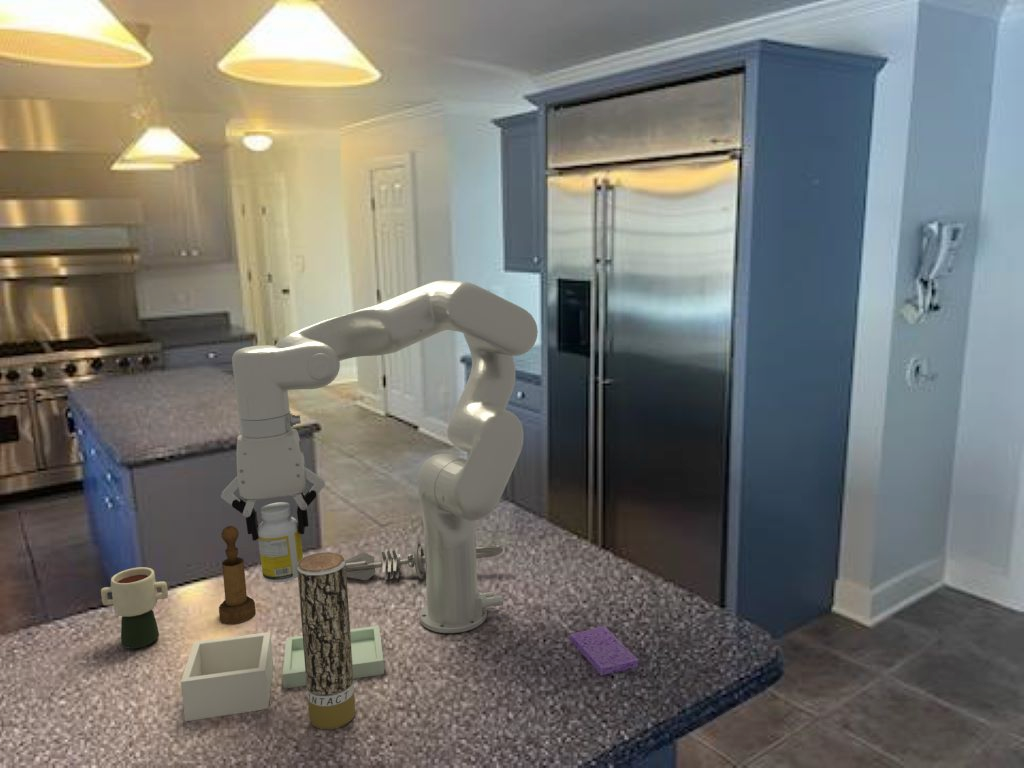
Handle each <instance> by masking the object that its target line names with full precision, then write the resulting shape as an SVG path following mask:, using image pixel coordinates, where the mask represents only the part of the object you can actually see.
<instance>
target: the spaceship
mask: <svg viewBox="0 0 1024 768" xmlns="http://www.w3.org/2000/svg"><path fill="white" fill-rule="evenodd" d="M388 550H389V551H388ZM503 552H504V549H503V548H502V547H500V546H496V545H495V546H494V545H488V546H487V545H486V546H479V547H476V558H477V559H484V558H492V557H495V556H499V555H501V554H502V553H503ZM381 557H382V558H380V559H381V560H380V561H376V562H375V557H374V556H373V555H371V554H369V553H366V552H362V553H358V554H357V555H355V556H353V557H350V558H348V559H345V562H346V576H347V578H351V579H356V580H362V581H368V580H370V578H372V577H374V575H376V569H379V568H382V571H381V572H382V573H384V580H388V577H389V579H390V580H392V579H393V578H395V579H398V578H399V575H401V574H402V570H401V568H402V566H403V565H408V567H409V568H414V567H415V572H416V575H417V577H418V579H420V580H422V579H423V578H424V574H425V572H426V562H425V550H424V548H423V546H422V544H421V542H420V541H419V540H417V541H415V545H414V547H413V554H411V553H410V554H407V558H403V559H402V558H401V554H400V553H399V547H398V546H397V547H395V549H394V547H390V548H389V549H388V548H385V549H384V551H381ZM394 576H395V577H394Z"/></svg>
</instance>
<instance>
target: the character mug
mask: <svg viewBox="0 0 1024 768" xmlns="http://www.w3.org/2000/svg"><path fill="white" fill-rule="evenodd" d="M155 574H156V573H155V570H154V569H153V568H151V567H146V566H145V567H142V566H140V567H139V566H138V567H132V568H128V569H124V570H121V571H119V572H117V573H116V574H114V575H113V576H111V578H110V586H105V587H102V588H101V589H100V595H101V603H102V605H103V606H111V605H113V610H114V612H115V614H116V615H117V616H120V617H121V625H120V626H121V627H120V628H121V629H120V632H121V633H120V644H121V645H122V646H123V647H124V648H127V649H132V650H133V649H139V648H140V649H141V648H143V647H145V646H148V645H150V644H152V643H153V642H155V641H156V640H157V639H158V638H159V636H160V632H159V627H158V624H157V620H156V616H155V612H154V609H155V607H156V606H157V603H158V600H165V599H167V598H168V597H169V591H168V590H169V589H168V584H167V582H166V581H156V575H155ZM157 588H160V589H161V593H158V591H157ZM108 593H111V595H112V599H109V598H108Z"/></svg>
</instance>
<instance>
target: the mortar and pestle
mask: <svg viewBox="0 0 1024 768" xmlns="http://www.w3.org/2000/svg"><path fill="white" fill-rule="evenodd" d="M239 534H240V533H239V529H238V528H237V527H236V526H234V525H229V526H225V527H224V528H223V530H222V531H221V538H222V540H223V541H224V542H225V544H226V549H225V550H224V551H225V556H226V559H224V560H223V561H222V562H221V568H222V576H223V586H224V587H223V588H224V600H223V602H221V604H220V605H219V607H218V613H219V620H220V621H221V622H222V623H223V624H224V623H225V624H229V625H230V624H232V625H235V624H239V623H244V622H246V621H248V620H251V619H252V618H253V617H254V616H255V615H256V603H255V600H254V599H253V598H251V597H250V596H248V594H247V584H246V573H245V560H244V559H243V558H242V557H238V554H239V548H238V547H236V542H237V540H238V538H239Z"/></svg>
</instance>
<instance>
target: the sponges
mask: <svg viewBox="0 0 1024 768" xmlns="http://www.w3.org/2000/svg"><path fill="white" fill-rule="evenodd" d="M569 640H570V641H571V642H572V644H573V645H575V647H576V648H577V649H578V650H579V652H580V653H581V654H582V655H583V656H584V658H585V659H587V661H588V662H589V663H590V664H591V666H592V667H593V668H594V669H595V670H596V672H597V673H598V674H599V675H600V676H604V675H608V674H613V673H616V672H621V671H625V670H629V669H633V668H637V667H639V664H638V663H639V659H638V658H637V657H636V656H635V655H634V654H633V653H632V652H631V651H629V650H628V647H626V646H625V645H624V643H622V642H621V640H619V639H618V638H617V637H616V635H614V634H613V633H612V632H611V631H610V630H609V629H608V628H607V627H606V625H602V626H598V627H594V628H591V629H589V630H585V631H584V630H582V631H577V632H573V633H570V635H569Z"/></svg>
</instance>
